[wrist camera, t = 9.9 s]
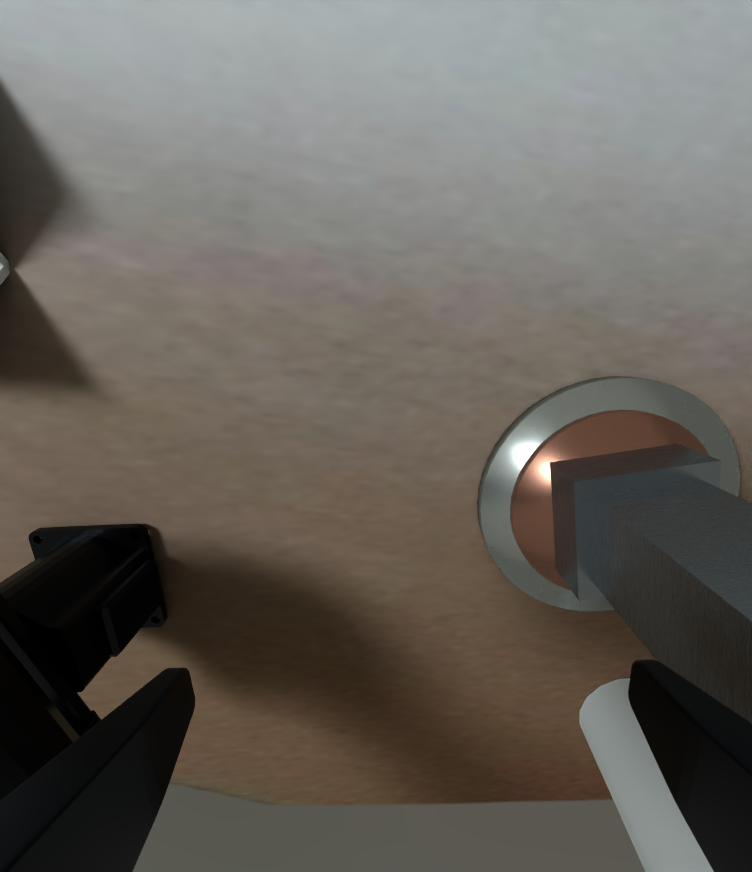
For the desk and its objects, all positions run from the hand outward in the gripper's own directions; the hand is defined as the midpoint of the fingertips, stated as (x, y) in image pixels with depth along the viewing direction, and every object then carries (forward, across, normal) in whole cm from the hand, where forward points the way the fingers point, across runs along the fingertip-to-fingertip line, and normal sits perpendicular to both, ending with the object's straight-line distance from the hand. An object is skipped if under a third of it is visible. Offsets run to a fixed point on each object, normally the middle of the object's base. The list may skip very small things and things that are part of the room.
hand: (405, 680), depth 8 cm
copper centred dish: (+13, -11, +2) cm, 17 cm away
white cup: (+13, -14, +17) cm, 26 cm away
